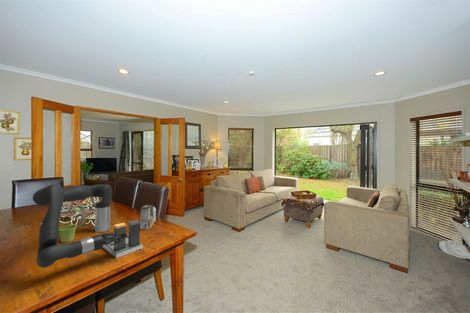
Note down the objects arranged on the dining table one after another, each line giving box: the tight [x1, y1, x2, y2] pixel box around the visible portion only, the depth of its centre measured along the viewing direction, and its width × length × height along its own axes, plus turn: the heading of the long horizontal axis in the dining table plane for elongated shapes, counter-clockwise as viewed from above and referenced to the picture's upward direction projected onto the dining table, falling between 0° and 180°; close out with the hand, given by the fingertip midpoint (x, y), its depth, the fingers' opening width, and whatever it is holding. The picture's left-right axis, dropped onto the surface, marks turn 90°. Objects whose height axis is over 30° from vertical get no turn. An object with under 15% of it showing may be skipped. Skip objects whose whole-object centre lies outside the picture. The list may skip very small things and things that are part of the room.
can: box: [153, 206, 157, 223], centre depth 169 cm, size 8×8×12 cm
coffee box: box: [139, 204, 154, 230], centre depth 157 cm, size 9×6×16 cm
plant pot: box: [59, 224, 78, 244], centre depth 131 cm, size 9×9×9 cm
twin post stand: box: [102, 219, 144, 259], centre depth 124 cm, size 20×15×16 cm
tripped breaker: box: [113, 222, 127, 251], centre depth 117 cm, size 4×5×14 cm
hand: (124, 234), depth 119 cm, fingers open, 4 cm apart
